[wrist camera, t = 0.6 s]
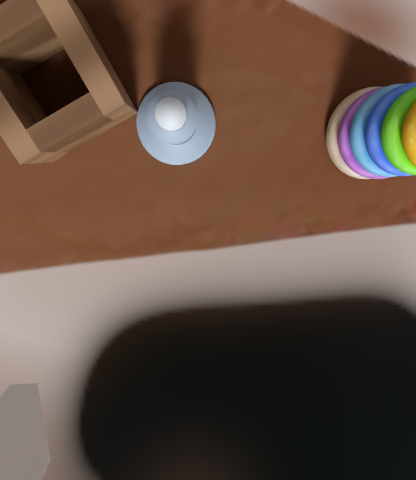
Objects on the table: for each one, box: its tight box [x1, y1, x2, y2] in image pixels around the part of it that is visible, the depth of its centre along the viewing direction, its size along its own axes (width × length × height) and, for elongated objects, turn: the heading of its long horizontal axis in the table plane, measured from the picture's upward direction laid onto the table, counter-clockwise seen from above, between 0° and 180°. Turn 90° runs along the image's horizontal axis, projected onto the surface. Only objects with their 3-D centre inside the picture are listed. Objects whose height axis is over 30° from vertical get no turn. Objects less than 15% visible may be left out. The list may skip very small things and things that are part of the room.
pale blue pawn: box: [137, 82, 216, 165], centre depth 26 cm, size 7×7×9 cm
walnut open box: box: [0, 0, 138, 164], centre depth 26 cm, size 9×9×6 cm
